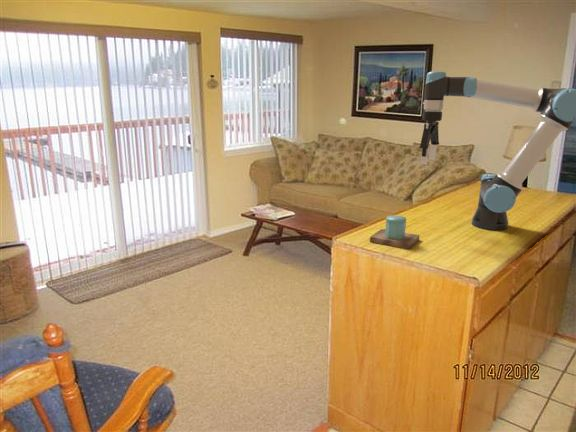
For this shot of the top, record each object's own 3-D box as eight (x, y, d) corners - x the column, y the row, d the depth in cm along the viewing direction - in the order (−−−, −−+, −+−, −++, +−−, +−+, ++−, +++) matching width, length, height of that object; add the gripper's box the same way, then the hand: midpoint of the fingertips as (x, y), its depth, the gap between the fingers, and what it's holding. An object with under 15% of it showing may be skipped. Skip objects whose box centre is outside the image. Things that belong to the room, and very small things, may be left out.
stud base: (419, 239, 195) (420, 220, 193) (409, 249, 184) (411, 229, 182) (381, 233, 203) (382, 214, 201) (369, 241, 192) (371, 222, 190)
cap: (407, 235, 194) (409, 217, 192) (401, 240, 188) (402, 222, 186) (388, 232, 198) (390, 214, 196) (382, 237, 192) (383, 218, 189)
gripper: (431, 108, 211) (426, 157, 217) (415, 111, 190) (410, 165, 196) (449, 109, 207) (443, 158, 213) (434, 112, 186) (429, 167, 192)
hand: (427, 162), depth 204 cm, fingers open, 13 cm apart
